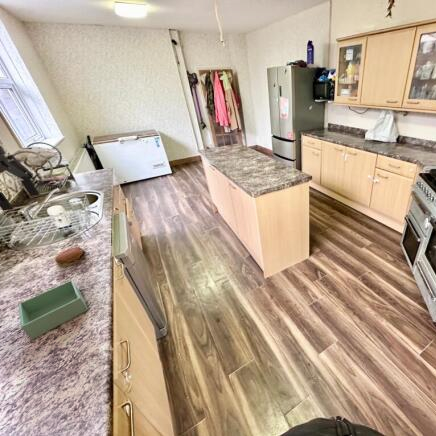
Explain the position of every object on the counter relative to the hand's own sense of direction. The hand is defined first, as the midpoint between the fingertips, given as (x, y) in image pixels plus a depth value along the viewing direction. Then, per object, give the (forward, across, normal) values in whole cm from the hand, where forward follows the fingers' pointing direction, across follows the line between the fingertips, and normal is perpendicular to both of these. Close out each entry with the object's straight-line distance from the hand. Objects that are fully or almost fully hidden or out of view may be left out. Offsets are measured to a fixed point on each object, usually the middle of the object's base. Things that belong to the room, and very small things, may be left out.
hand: (22, 202), depth 89 cm
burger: (+28, -2, -5) cm, 29 cm away
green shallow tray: (+28, -34, -17) cm, 47 cm away
